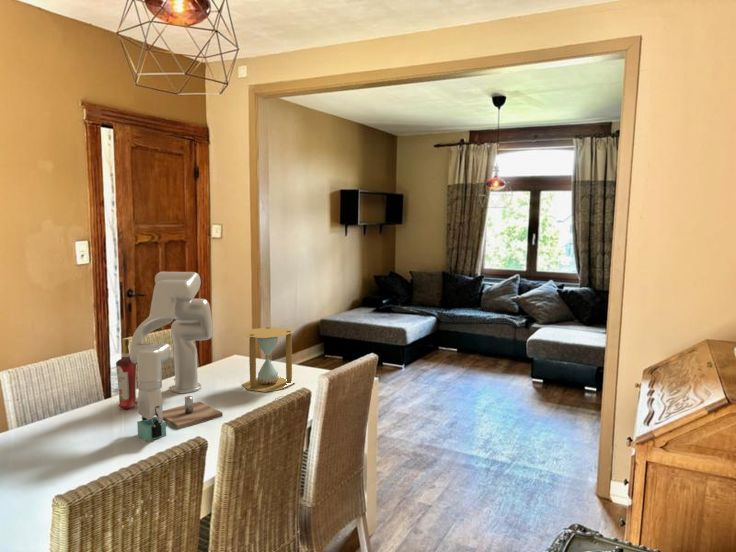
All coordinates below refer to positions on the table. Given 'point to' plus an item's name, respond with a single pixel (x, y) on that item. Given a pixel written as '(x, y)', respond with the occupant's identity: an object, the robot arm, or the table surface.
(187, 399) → the steel post
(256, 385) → the hourglass
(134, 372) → the liquor
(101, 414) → the table surface
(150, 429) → the teal collar
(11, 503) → the table surface
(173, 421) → the walnut board
